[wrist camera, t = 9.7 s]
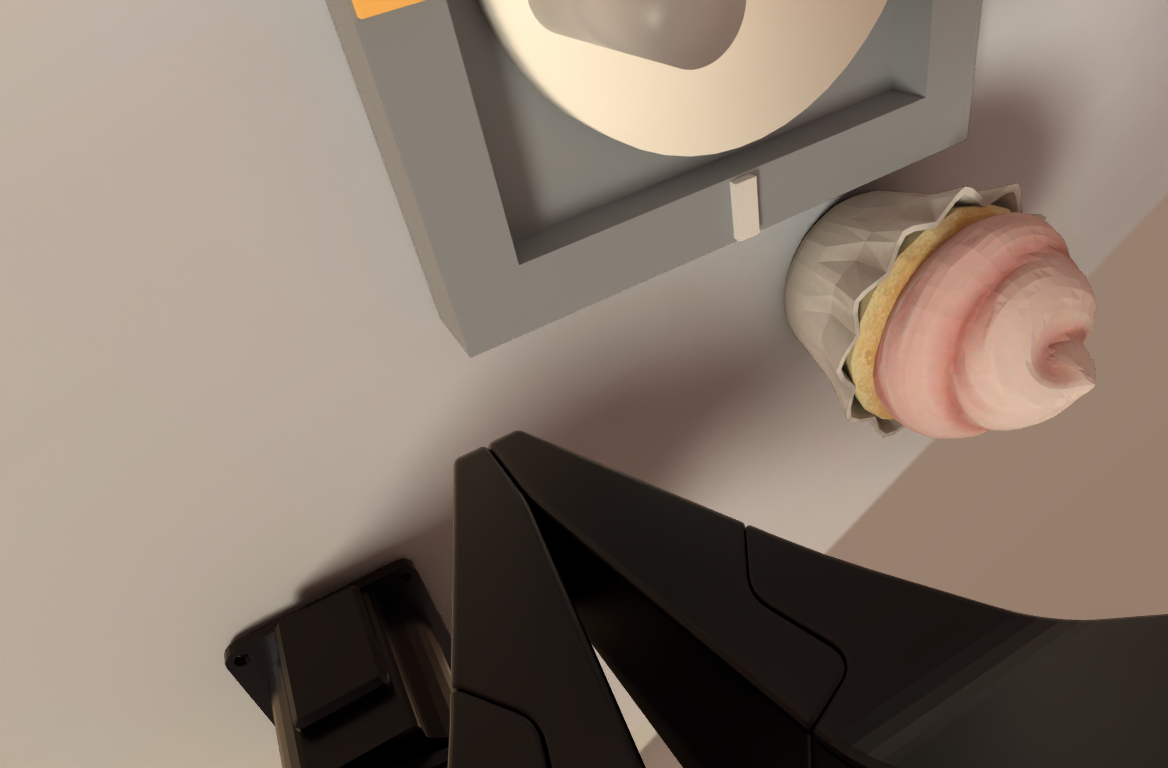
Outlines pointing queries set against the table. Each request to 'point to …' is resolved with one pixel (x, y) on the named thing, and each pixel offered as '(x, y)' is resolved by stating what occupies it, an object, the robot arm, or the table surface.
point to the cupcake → (943, 312)
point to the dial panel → (616, 159)
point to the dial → (681, 63)
